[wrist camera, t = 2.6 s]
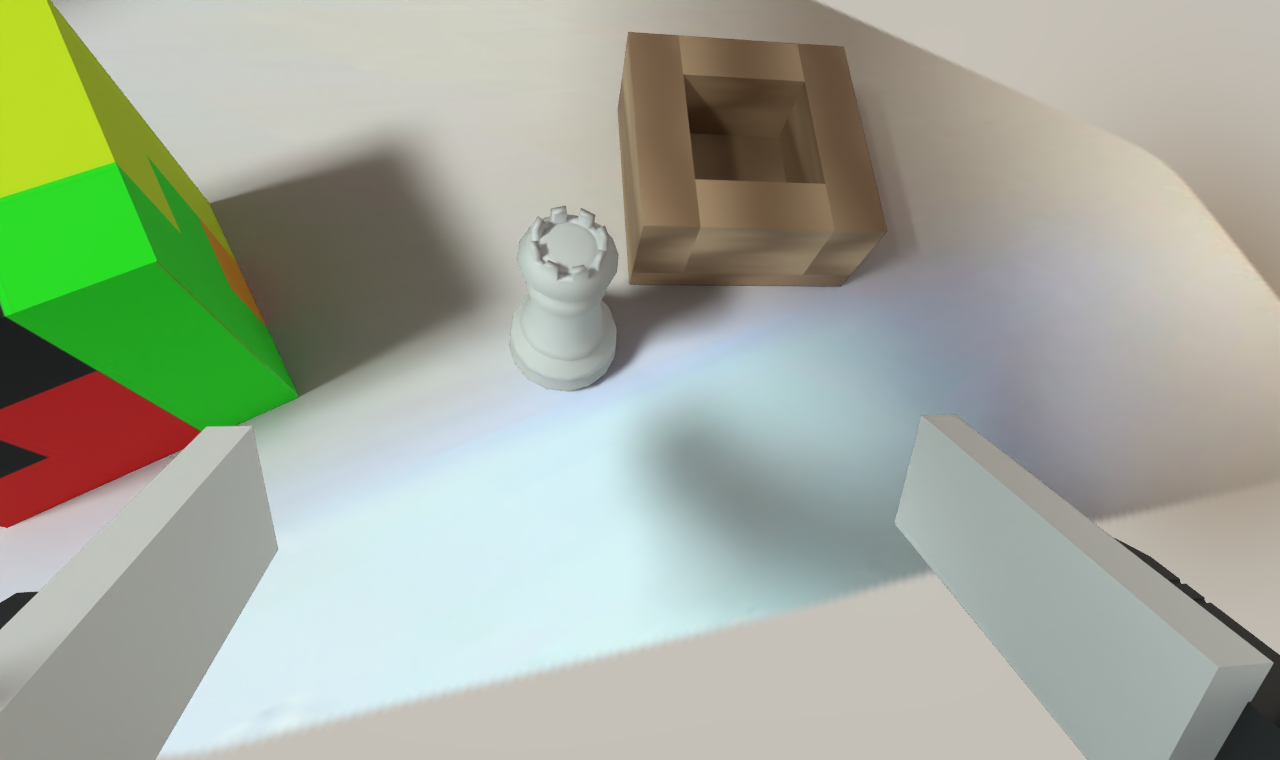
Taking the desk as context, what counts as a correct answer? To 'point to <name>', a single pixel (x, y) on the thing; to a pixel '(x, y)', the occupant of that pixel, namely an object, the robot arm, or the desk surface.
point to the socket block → (743, 163)
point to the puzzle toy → (106, 283)
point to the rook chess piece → (565, 302)
